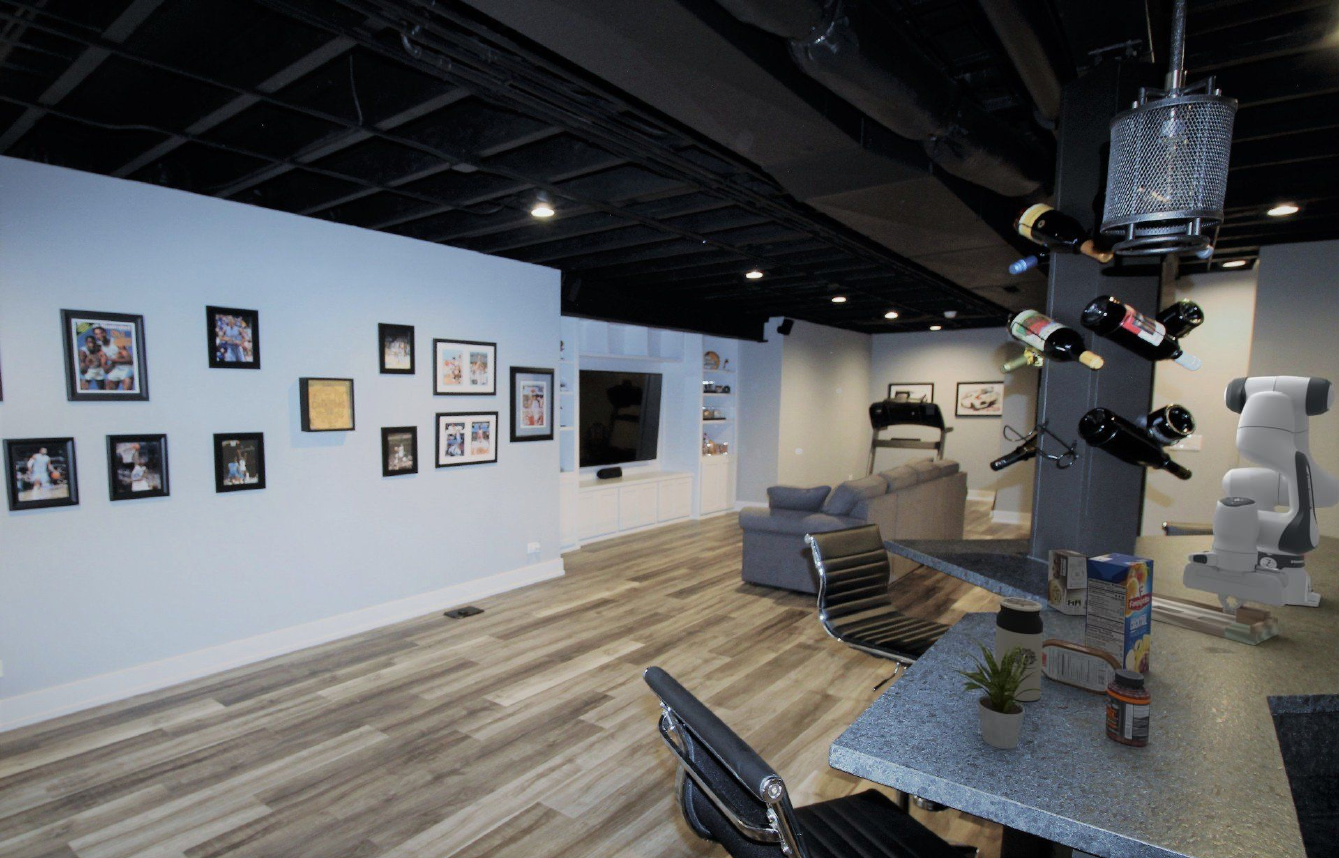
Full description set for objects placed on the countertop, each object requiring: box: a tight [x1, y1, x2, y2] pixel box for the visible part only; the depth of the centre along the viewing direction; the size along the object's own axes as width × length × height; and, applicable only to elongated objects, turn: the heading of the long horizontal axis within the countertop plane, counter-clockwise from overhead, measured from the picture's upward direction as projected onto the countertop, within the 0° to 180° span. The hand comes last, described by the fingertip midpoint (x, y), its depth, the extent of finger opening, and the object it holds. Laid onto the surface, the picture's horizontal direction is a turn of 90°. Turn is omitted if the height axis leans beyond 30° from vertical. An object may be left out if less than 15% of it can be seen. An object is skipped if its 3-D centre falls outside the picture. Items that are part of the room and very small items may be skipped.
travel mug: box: [994, 596, 1044, 702], centre depth 122 cm, size 8×8×18 cm
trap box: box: [1151, 591, 1279, 646], centre depth 166 cm, size 15×29×4 cm, turn 30°
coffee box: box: [1047, 549, 1092, 616], centre depth 174 cm, size 9×6×16 cm
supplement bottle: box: [1105, 669, 1151, 747], centre depth 106 cm, size 6×6×11 cm
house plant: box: [952, 638, 1046, 750], centre depth 106 cm, size 14×14×16 cm
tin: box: [1041, 638, 1122, 695], centre depth 126 cm, size 15×3×8 cm, turn 44°
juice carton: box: [1084, 552, 1155, 675], centre depth 134 cm, size 12×8×24 cm, turn 122°
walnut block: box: [1236, 605, 1271, 626], centre depth 157 cm, size 5×5×4 cm
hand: (1231, 613), depth 161 cm, fingers closed
